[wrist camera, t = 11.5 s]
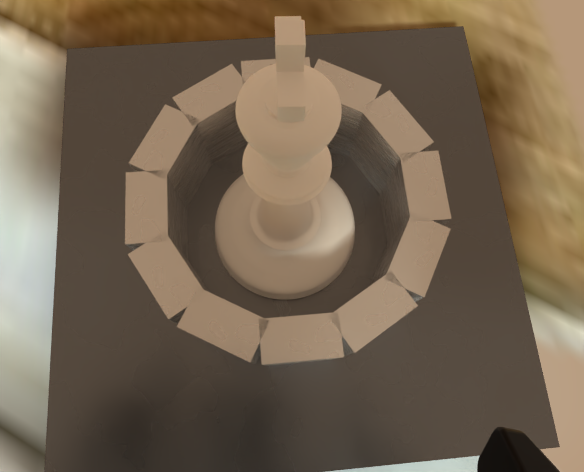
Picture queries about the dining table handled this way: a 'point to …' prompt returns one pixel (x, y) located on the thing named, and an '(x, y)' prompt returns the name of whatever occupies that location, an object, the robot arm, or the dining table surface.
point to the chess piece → (286, 179)
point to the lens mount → (274, 312)
